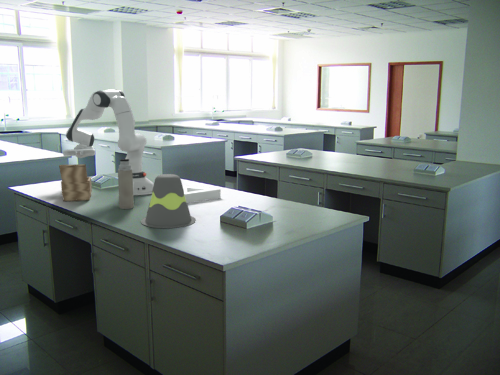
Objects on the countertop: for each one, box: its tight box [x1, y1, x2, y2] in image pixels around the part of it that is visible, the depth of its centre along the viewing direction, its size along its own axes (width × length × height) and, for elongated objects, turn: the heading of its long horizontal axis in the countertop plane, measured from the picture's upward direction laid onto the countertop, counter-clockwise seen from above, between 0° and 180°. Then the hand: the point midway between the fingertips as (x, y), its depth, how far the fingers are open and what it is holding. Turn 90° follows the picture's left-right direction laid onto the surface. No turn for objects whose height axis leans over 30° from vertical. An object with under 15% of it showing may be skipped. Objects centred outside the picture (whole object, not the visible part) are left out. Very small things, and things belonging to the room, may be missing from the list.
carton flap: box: [58, 163, 88, 182], centre depth 262 cm, size 14×14×1 cm
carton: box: [60, 176, 93, 202], centre depth 275 cm, size 16×14×12 cm
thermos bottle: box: [117, 158, 135, 210], centre depth 253 cm, size 8×8×28 cm
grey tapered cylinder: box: [140, 173, 197, 229], centre depth 226 cm, size 28×28×24 cm
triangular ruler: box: [182, 185, 222, 204], centre depth 283 cm, size 30×26×6 cm
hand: (78, 153), depth 289 cm, fingers closed
